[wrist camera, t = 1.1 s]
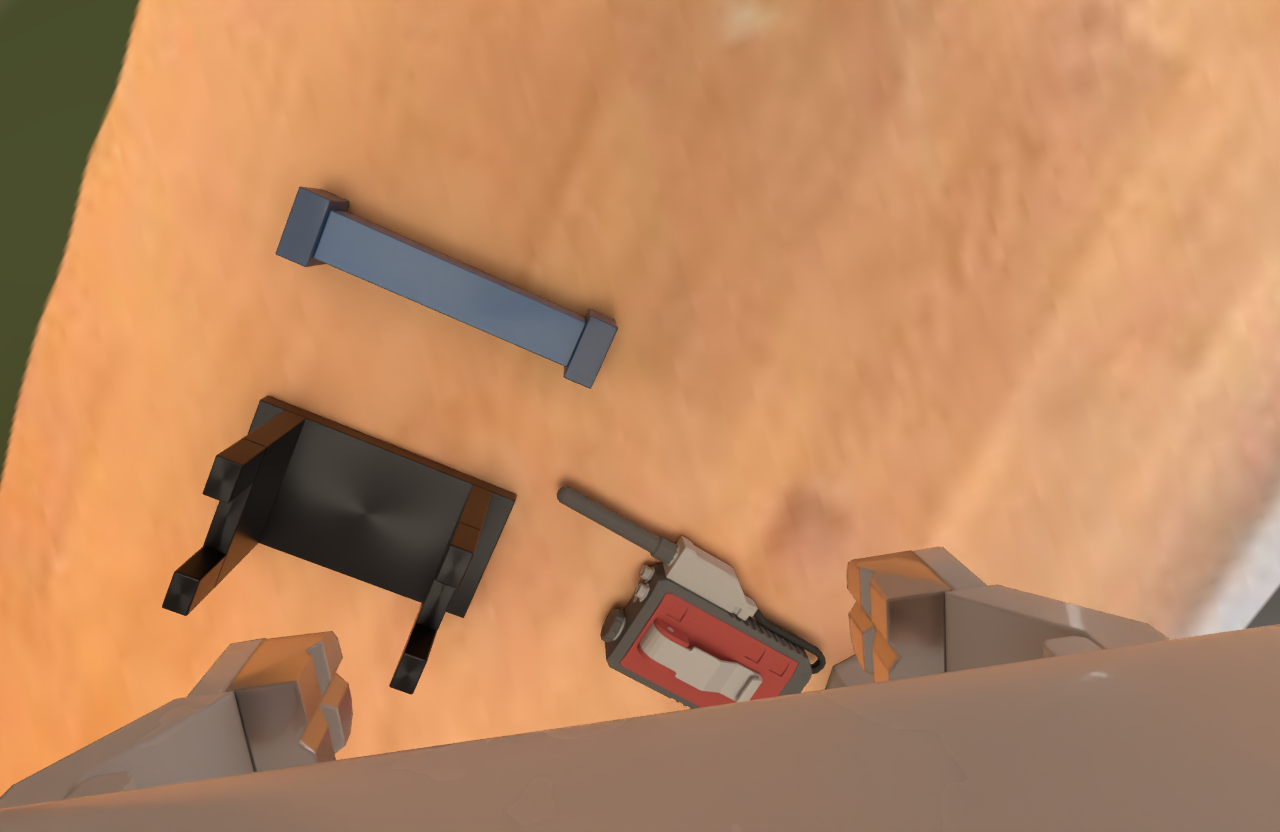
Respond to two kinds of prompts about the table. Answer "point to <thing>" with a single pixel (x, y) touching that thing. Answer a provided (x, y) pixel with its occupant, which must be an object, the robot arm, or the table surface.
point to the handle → (443, 284)
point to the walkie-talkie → (695, 626)
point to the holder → (348, 519)
